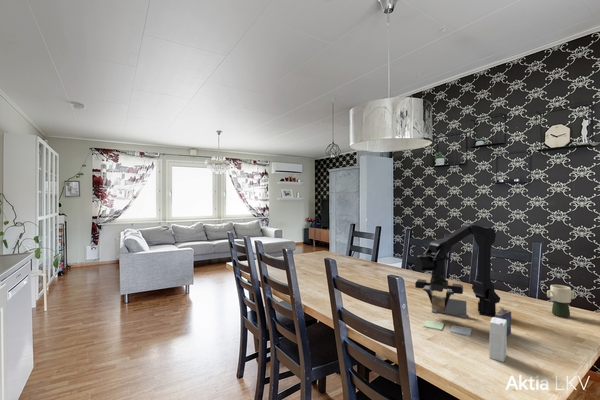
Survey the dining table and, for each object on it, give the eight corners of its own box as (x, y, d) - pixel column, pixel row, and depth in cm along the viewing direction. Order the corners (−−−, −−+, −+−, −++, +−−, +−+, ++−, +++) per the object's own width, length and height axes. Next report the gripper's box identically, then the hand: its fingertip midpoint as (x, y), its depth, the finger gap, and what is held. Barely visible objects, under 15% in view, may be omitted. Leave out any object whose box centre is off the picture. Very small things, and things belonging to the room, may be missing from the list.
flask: (500, 339, 112) (500, 311, 112) (492, 336, 114) (491, 308, 114) (512, 334, 117) (512, 306, 117) (504, 331, 119) (504, 304, 119)
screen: (466, 314, 136) (466, 299, 136) (466, 318, 132) (466, 302, 132) (433, 309, 144) (433, 294, 144) (431, 312, 139) (431, 297, 140)
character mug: (568, 313, 137) (567, 284, 137) (580, 319, 130) (580, 289, 130) (542, 312, 139) (541, 284, 139) (553, 318, 132) (552, 288, 132)
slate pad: (471, 329, 121) (471, 328, 121) (470, 336, 115) (470, 335, 115) (452, 325, 124) (452, 324, 124) (450, 332, 118) (450, 331, 118)
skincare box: (491, 351, 103) (491, 316, 103) (507, 355, 100) (507, 319, 100) (488, 358, 99) (488, 321, 99) (505, 363, 96) (504, 325, 96)
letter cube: (445, 307, 133) (445, 296, 133) (444, 311, 128) (444, 299, 128) (433, 305, 135) (433, 294, 135) (431, 309, 131) (431, 297, 131)
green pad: (444, 324, 126) (444, 323, 126) (442, 330, 120) (442, 329, 120) (426, 320, 130) (426, 320, 130) (423, 326, 124) (423, 325, 124)
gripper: (412, 271, 130) (412, 307, 130) (461, 277, 120) (461, 315, 120) (417, 266, 139) (417, 300, 139) (463, 271, 130) (463, 307, 129)
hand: (438, 305), depth 132 cm, fingers closed on letter cube, 5 cm apart
